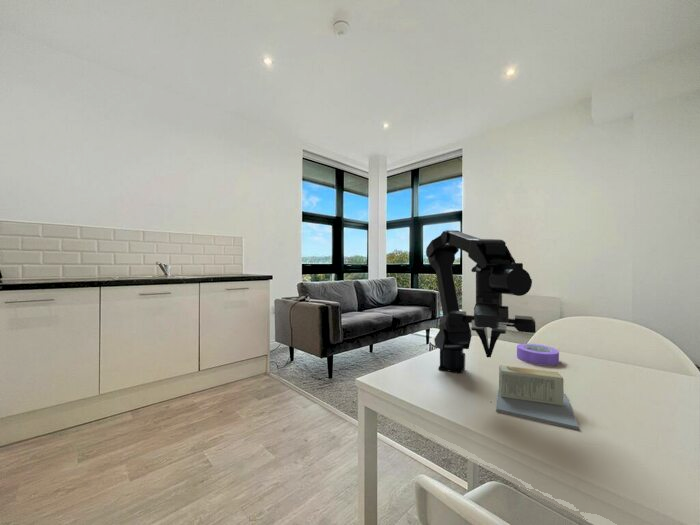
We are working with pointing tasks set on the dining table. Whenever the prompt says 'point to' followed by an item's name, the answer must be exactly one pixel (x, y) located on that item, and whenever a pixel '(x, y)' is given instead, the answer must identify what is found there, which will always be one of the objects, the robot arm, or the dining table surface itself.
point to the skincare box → (531, 385)
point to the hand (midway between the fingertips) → (488, 356)
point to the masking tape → (537, 354)
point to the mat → (539, 411)
